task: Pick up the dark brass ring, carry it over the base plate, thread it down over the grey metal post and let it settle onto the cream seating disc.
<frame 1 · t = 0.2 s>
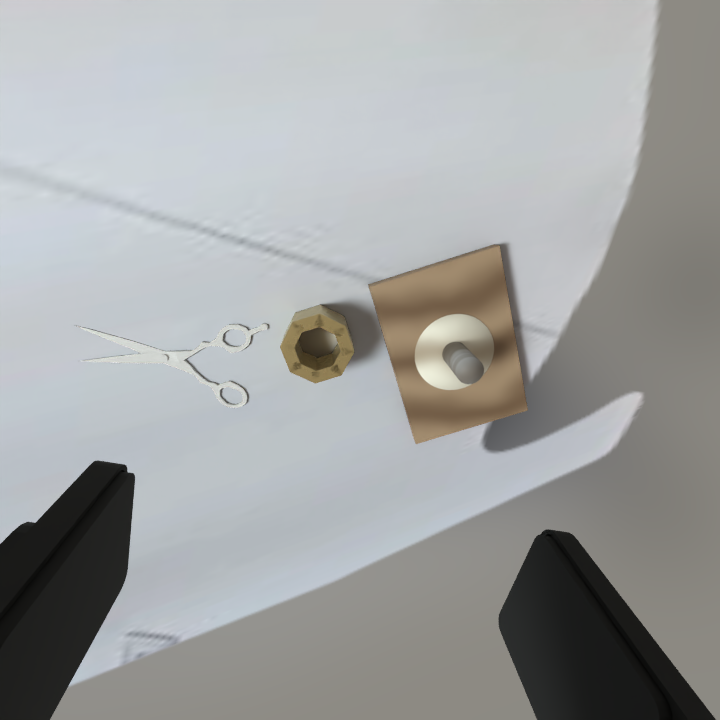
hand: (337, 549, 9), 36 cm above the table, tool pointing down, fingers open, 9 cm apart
ring: (318, 337, 46), on the table
post plate: (450, 348, 47), on the table
scissors: (173, 354, 46), on the table
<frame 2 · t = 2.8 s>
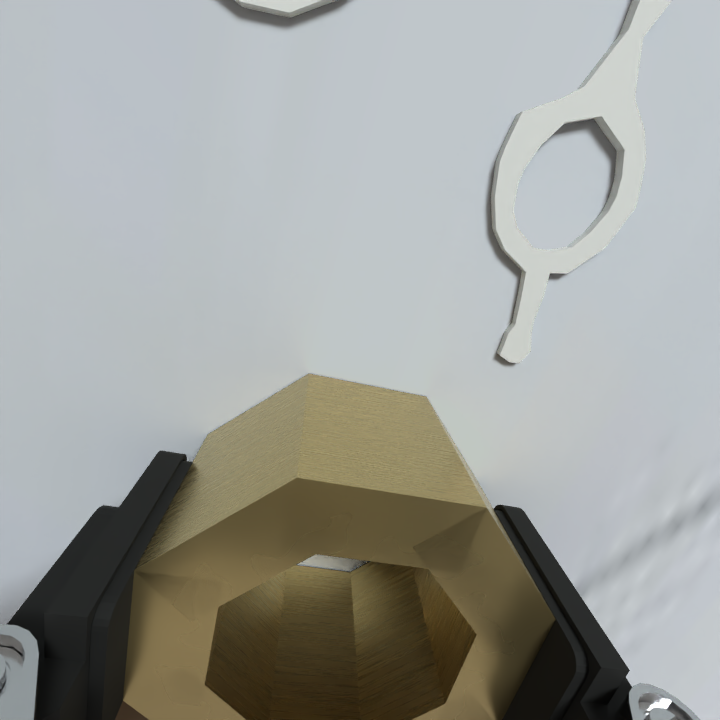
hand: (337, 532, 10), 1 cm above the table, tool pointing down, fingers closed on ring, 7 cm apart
ring: (336, 504, 11), on the table, touching gripper
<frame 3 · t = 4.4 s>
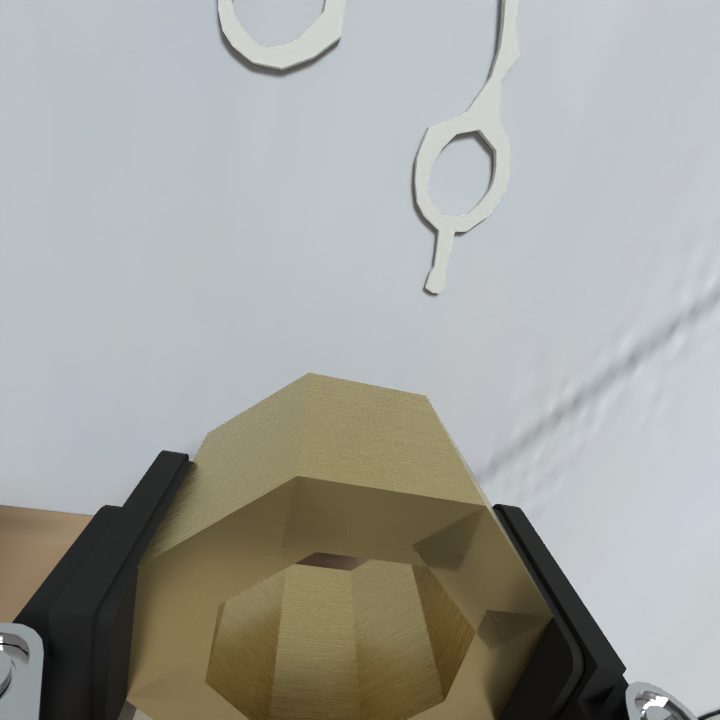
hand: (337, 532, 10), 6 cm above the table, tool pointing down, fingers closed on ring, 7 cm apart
ring: (336, 503, 11), point 5 cm above the table, touching gripper
post plate: (129, 639, 19), on the table
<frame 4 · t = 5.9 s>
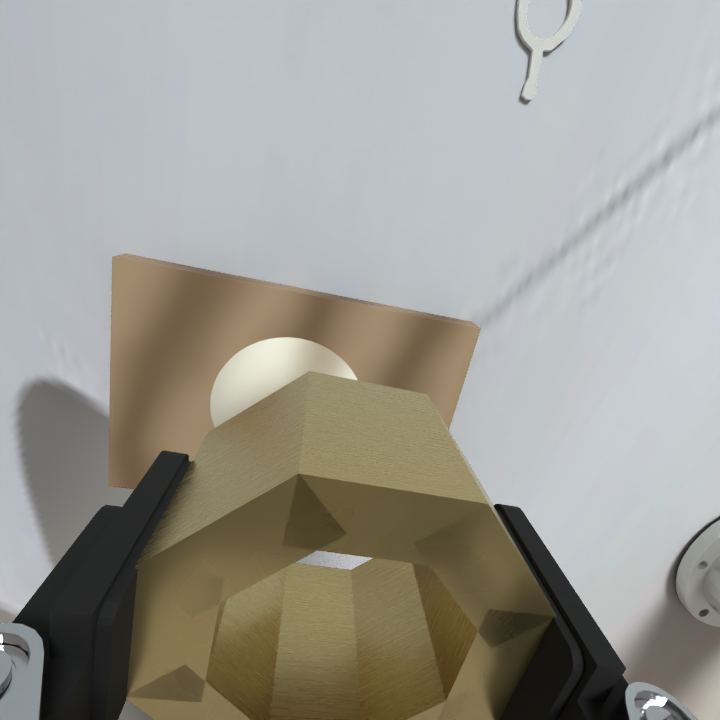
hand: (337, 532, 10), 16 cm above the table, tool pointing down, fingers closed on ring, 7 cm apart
ring: (337, 502, 11), point 15 cm above the table, touching gripper
post plate: (290, 399, 26), on the table
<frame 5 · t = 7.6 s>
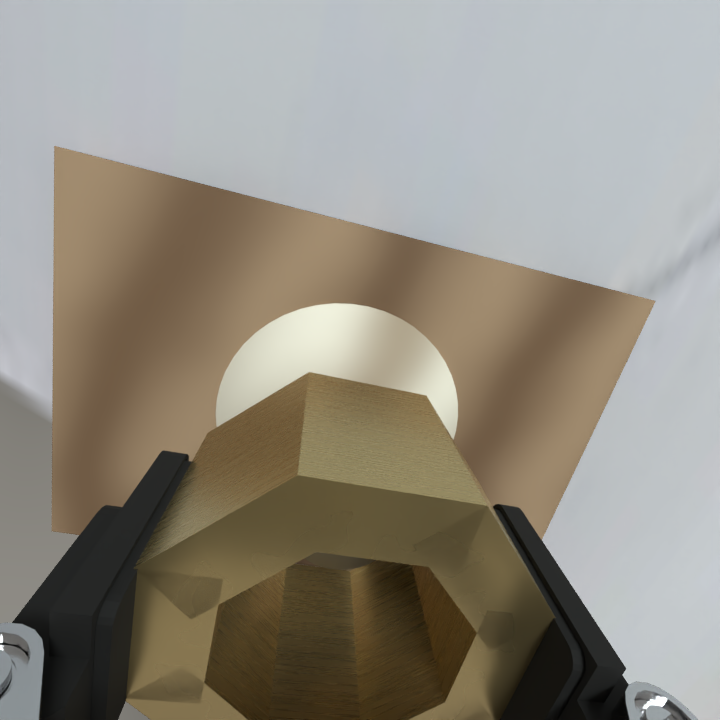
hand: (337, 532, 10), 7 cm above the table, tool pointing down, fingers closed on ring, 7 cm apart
ring: (336, 503, 11), point 6 cm above the table, touching gripper
post plate: (338, 404, 17), on the table
when the fingers open (4 cm above the table, at t = 8.8 s): ring drops 1 cm, resting on post plate.
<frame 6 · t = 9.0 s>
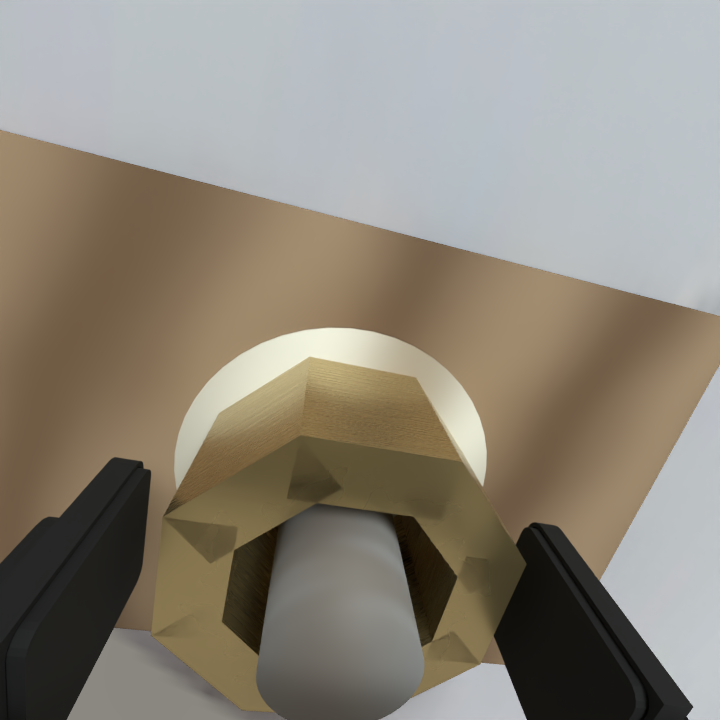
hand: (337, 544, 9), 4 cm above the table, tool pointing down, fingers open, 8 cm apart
ring: (335, 477, 12), point 2 cm above the table, touching post plate
post plate: (334, 448, 13), on the table
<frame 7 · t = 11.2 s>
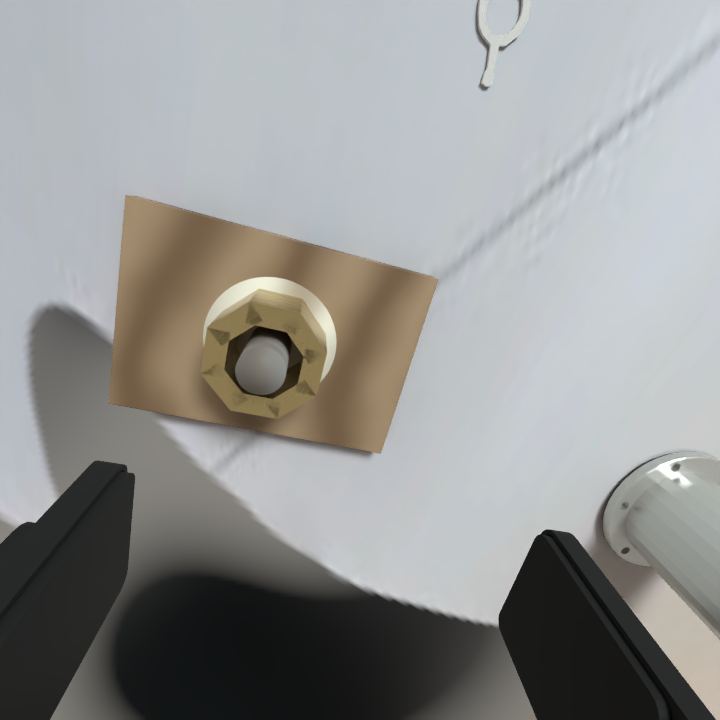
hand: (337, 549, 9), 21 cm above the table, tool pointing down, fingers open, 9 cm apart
ring: (271, 342, 28), point 2 cm above the table, touching post plate
post plate: (273, 336, 30), on the table
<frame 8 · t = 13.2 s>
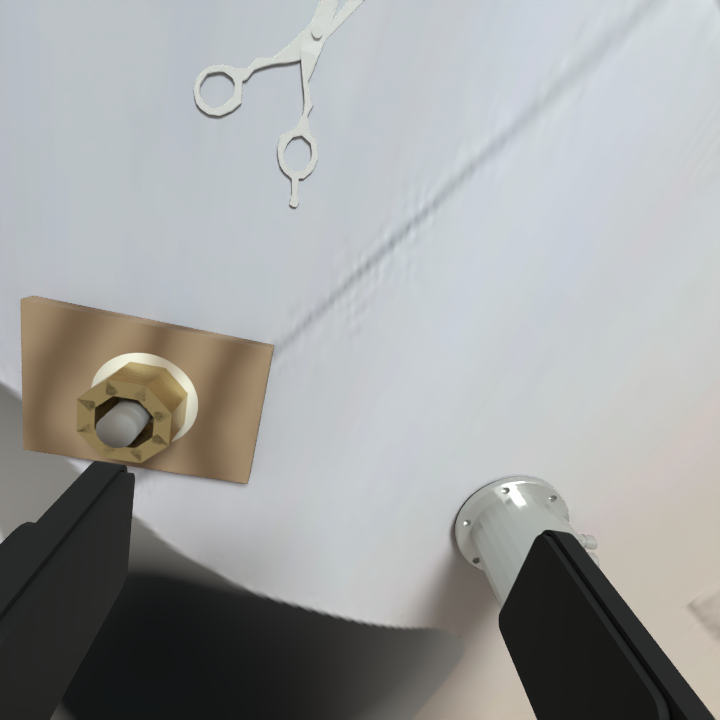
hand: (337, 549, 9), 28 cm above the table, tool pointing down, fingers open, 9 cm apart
ring: (145, 401, 36), point 2 cm above the table, touching post plate
post plate: (152, 393, 38), on the table
scissors: (313, 48, 30), on the table
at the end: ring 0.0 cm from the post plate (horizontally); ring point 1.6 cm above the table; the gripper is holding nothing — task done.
